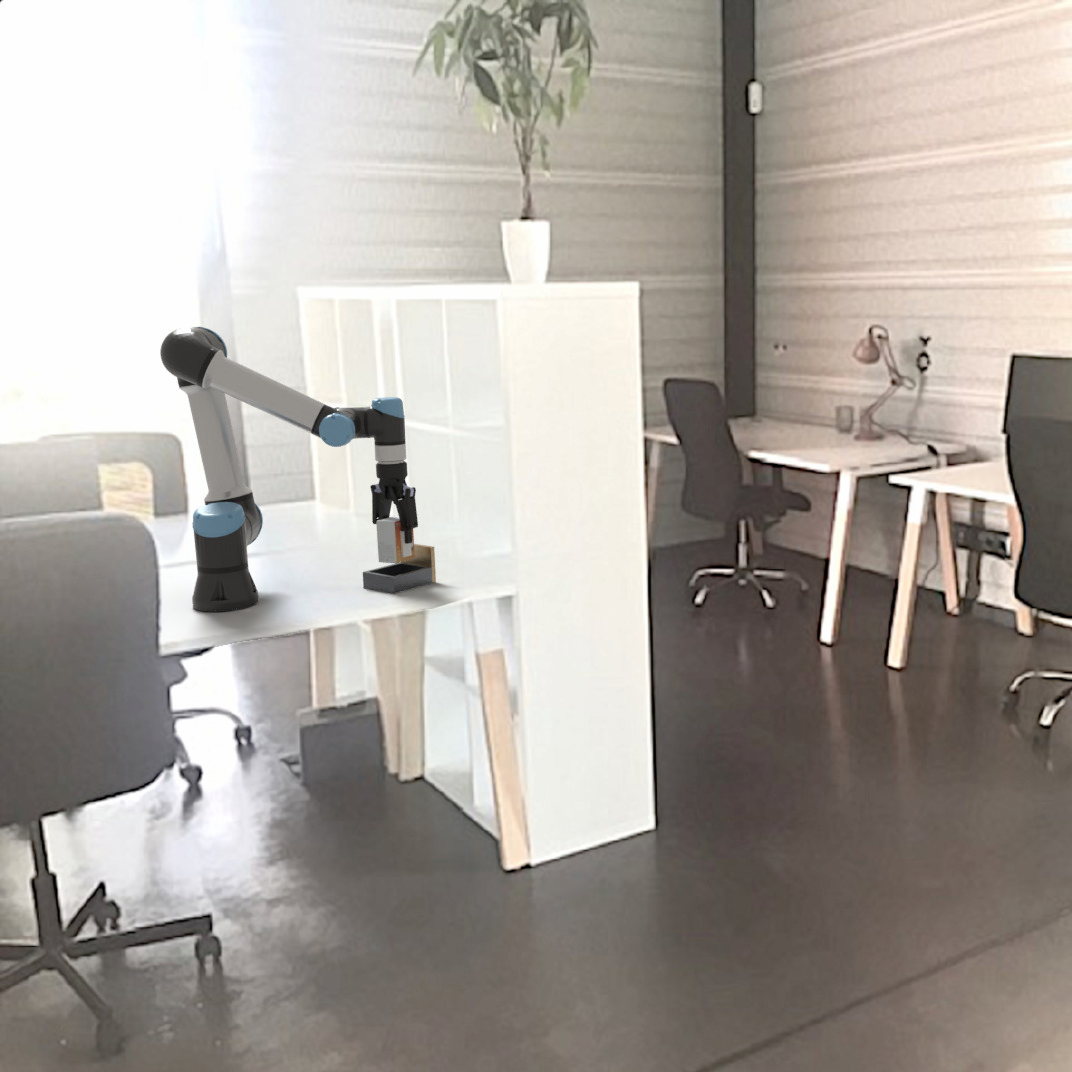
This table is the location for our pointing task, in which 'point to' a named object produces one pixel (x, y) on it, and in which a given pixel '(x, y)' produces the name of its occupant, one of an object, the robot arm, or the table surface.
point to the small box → (391, 540)
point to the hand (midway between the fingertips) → (396, 554)
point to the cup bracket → (404, 573)
